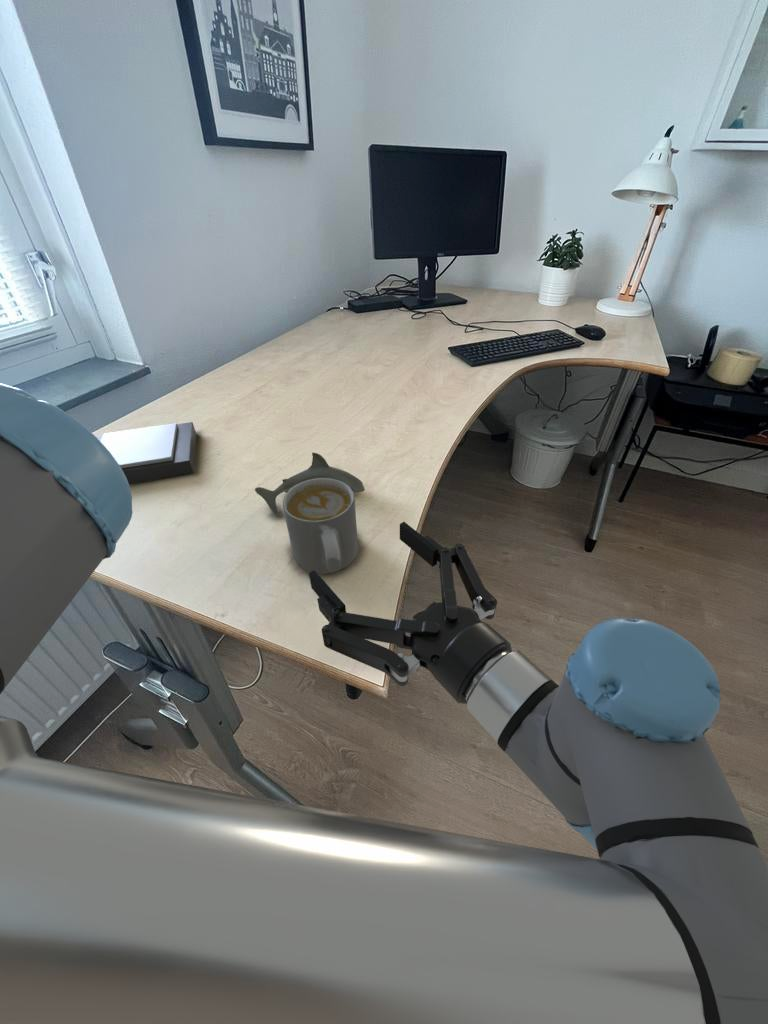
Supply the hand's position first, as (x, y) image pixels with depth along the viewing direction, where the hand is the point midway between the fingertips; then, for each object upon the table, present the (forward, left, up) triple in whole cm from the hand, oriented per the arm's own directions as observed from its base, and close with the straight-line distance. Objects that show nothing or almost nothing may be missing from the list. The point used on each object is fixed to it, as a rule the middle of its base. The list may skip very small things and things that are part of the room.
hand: (359, 553), depth 54 cm
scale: (-34, +47, -8) cm, 58 cm away
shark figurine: (-2, +25, -9) cm, 26 cm away
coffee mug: (-4, +9, -8) cm, 13 cm away
